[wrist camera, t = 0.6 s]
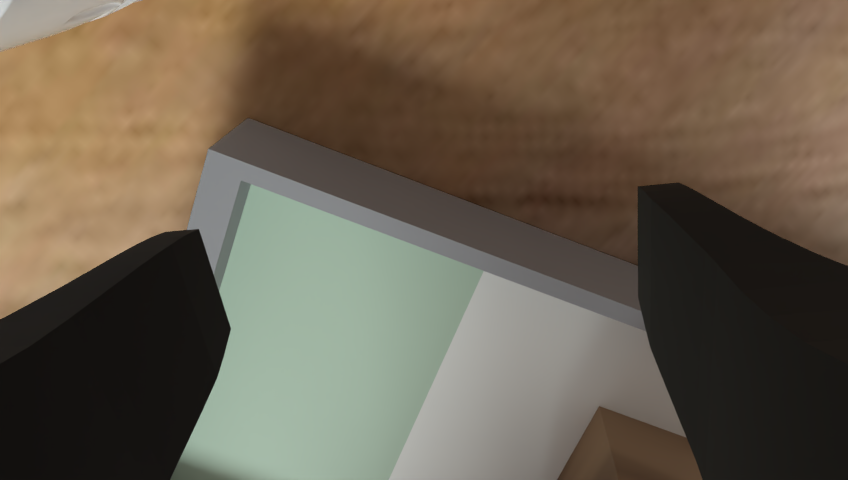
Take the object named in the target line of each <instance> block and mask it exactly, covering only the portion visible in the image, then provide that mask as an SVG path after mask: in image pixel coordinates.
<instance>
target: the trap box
mask: <svg viewBox="0 0 848 480" xmlns="http://www.w3.org/2000/svg"><path fill="white" fill-rule="evenodd" d="M193 229H199V231H200V234H201V237H202V240H203V243H204V246H205V249H206V252H207V255H208V259H209V262H210V265H211V268H212V271H213V274H214V277H215V280H216V283H217V287H218V290H219V293H220V296H221V299H222V302H223V305H224V308H225V311H226V315H227V318H228V321H229V324H230V327H231V331H230V335H229V339H228V342H227V346H226V350H225V354H224V358H223V361H222V364H221V367H220V371H219V374H218V377H217V380H216V382H215V384H214V386H213V389H212V391H211V393H210V395H209V398H208V400H207V402H206V404H205V406H204V409H203V411H202V413H201V415H200V417H199V419H198V421H197V424H196V426H195V428H194V430H193V432H192V434H191V436H190V438H189V441H188V443H187V445H186V447H185V449H184V451H183V453H182V455H181V458H180V460H179V462H178V464H177V466H176V468H175V470H174V472H173V475H172V477H171V479H170V480H557V479H558V477H559V475H560V473H561V472H562V470H563V468H564V466H565V465H566V463H567V461H568V460H569V458H570V456H571V454H572V453H573V451H574V449H575V447H576V446H577V444H578V442H579V440H580V439H581V437H582V435H583V433H584V432H585V430H586V428H587V426H588V425H589V423H590V421H591V419H592V418H593V416H594V414H595V412H596V411H597V409H598V407H599V406H600V407H603V408H606V409H609V410H612V411H614V412H617V413H620V414H623V415H625V416H628V417H631V418H634V419H636V420H639V421H642V422H645V423H647V424H650V425H653V426H656V427H659V428H661V429H664V430H667V431H670V432H672V433H675V434H678V435H681V436H683V437H686V435H685V433H684V430H683V428H682V425H681V423H680V420H679V418H678V415H677V413H676V411H675V408H674V406H673V403H672V401H671V398H670V396H669V393H668V391H667V388H666V386H665V383H664V381H663V378H662V376H661V373H660V371H659V368H658V366H657V363H656V361H655V358H654V356H653V353H652V351H651V348H650V345H649V341H648V337H647V333H646V329H645V325H644V321H643V316H642V312H641V308H640V304H639V299H638V266H637V265H634V264H631V263H629V262H626V261H623V260H621V259H618V258H616V257H613V256H610V255H608V254H605V253H602V252H600V251H597V250H594V249H592V248H589V247H587V246H584V245H581V244H579V243H576V242H573V241H571V240H568V239H566V238H563V237H560V236H558V235H555V234H552V233H550V232H547V231H545V230H542V229H539V228H537V227H534V226H531V225H529V224H526V223H523V222H521V221H518V220H516V219H513V218H510V217H508V216H505V215H502V214H500V213H497V212H495V211H492V210H489V209H487V208H484V207H481V206H479V205H476V204H473V203H471V202H468V201H466V200H463V199H460V198H458V197H455V196H452V195H450V194H447V193H445V192H442V191H439V190H437V189H434V188H431V187H429V186H426V185H424V184H421V183H418V182H416V181H413V180H410V179H408V178H405V177H402V176H400V175H397V174H395V173H392V172H389V171H387V170H384V169H381V168H379V167H376V166H374V165H371V164H368V163H366V162H363V161H360V160H358V159H355V158H352V157H350V156H347V155H345V154H342V153H339V152H337V151H334V150H331V149H329V148H326V147H324V146H321V145H318V144H316V143H313V142H310V141H308V140H305V139H303V138H300V137H297V136H295V135H292V134H289V133H287V132H284V131H281V130H279V129H276V128H274V127H271V126H268V125H266V124H263V123H260V122H258V121H255V120H253V119H250V118H247V119H246V120H244V121H243V122H242V123H241V124H239V125H238V126H237V127H235V128H234V129H233V130H232V131H230V132H229V133H228V134H227V135H225V136H224V137H223V138H222V139H220V140H219V141H218V142H216V143H215V144H214V145H213V146H211V147H210V148H209V149H208V152H207V156H206V160H205V164H204V167H203V171H202V175H201V178H200V182H199V186H198V190H197V193H196V197H195V201H194V205H193V208H192V212H191V216H190V220H189V223H188V227H187V230H193ZM686 438H687V437H686Z"/></svg>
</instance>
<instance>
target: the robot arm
mask: <svg viewBox="0 0 848 480" xmlns="http://www.w3.org/2000/svg"><path fill="white" fill-rule="evenodd" d="M638 299H639V304H640V308H641V312H642V316H643V321H644V325H645V329H646V333H647V337H648V341H649V345H650V348H651V351H652V353H653V356H654V358H655V361H656V363H657V366H658V368H659V371H660V373H661V376H662V378H663V381H664V383H665V386H666V388H667V391H668V393H669V396H670V398H671V401H672V403H673V406H674V408H675V411H676V413H677V415H678V418H679V420H680V423H681V425H682V428H683V430H684V433H685V435H686V437H687V440H688V442H689V445H690V447H691V450H692V452H693V455H694V457H695V460H696V462H697V465H698V468H699V471H700V474H701V477H702V480H848V266H847V265H844V264H841V263H838V262H836V261H833V260H831V259H828V258H826V257H823V256H821V255H818V254H816V253H814V252H811V251H809V250H807V249H805V248H803V247H801V246H798V245H796V244H794V243H792V242H790V241H788V240H785V239H783V238H781V237H779V236H777V235H775V234H773V233H771V232H769V231H767V230H765V229H763V228H761V227H759V226H758V225H756V224H754V223H752V222H750V221H748V220H746V219H744V218H743V217H741V216H739V215H737V214H735V213H734V212H732V211H730V210H728V209H726V208H725V207H723V206H721V205H719V204H718V203H716V202H714V201H712V200H711V199H709V198H707V197H705V196H704V195H702V194H700V193H698V192H696V191H695V190H693V189H691V188H689V187H687V186H685V185H683V184H680V183H670V184H660V185H650V186H639V187H638ZM230 331H231V327H230V324H229V321H228V318H227V315H226V311H225V308H224V305H223V302H222V299H221V296H220V293H219V290H218V287H217V283H216V280H215V277H214V274H213V271H212V268H211V265H210V262H209V259H208V255H207V252H206V249H205V246H204V243H203V240H202V237H201V234H200V231H199V229H193V230H183V231H172V232H164V233H162V234H159V235H156V236H154V237H151V238H149V239H147V240H145V241H143V242H141V243H139V244H137V245H135V246H133V247H131V248H129V249H127V250H126V251H124V252H122V253H120V254H118V255H117V256H115V257H113V258H111V259H110V260H108V261H106V262H104V263H102V264H101V265H99V266H97V267H96V268H94V269H92V270H90V271H89V272H87V273H85V274H83V275H82V276H80V277H78V278H76V279H75V280H73V281H71V282H69V283H68V284H66V285H64V286H62V287H60V288H59V289H57V290H55V291H53V292H51V293H49V294H47V295H46V296H44V297H42V298H40V299H38V300H36V301H34V302H32V303H31V304H29V305H27V306H25V307H23V308H21V309H19V310H18V311H16V312H14V313H12V314H10V315H8V316H6V317H4V318H2V319H0V480H170V479H171V477H172V475H173V472H174V470H175V468H176V466H177V464H178V462H179V460H180V458H181V455H182V453H183V451H184V449H185V447H186V445H187V443H188V441H189V438H190V436H191V434H192V432H193V430H194V428H195V426H196V424H197V421H198V419H199V417H200V415H201V413H202V411H203V409H204V406H205V404H206V402H207V400H208V398H209V395H210V393H211V391H212V389H213V386H214V384H215V382H216V380H217V377H218V374H219V371H220V367H221V364H222V361H223V358H224V354H225V350H226V346H227V342H228V339H229V335H230Z"/></svg>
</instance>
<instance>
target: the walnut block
mask: <svg viewBox="0 0 848 480" xmlns="http://www.w3.org/2000/svg"><path fill="white" fill-rule="evenodd" d="M557 480H702V477H701V474H700V471H699V468H698V465H697V462H696V460H695V457H694V455H693V452H692V450H691V447H690V445H689V442H688V440H687V438H686V437H683V436H681V435H678V434H675V433H672V432H670V431H667V430H664V429H661V428H659V427H656V426H653V425H650V424H647V423H645V422H642V421H639V420H636V419H634V418H631V417H628V416H625V415H623V414H620V413H617V412H614V411H612V410H609V409H606V408H603V407H600V406H599V407H598V409H597V411H596V412H595V414H594V416H593V418H592V419H591V421H590V423H589V425H588V426H587V428H586V430H585V432H584V433H583V435H582V437H581V439H580V440H579V442H578V444H577V446H576V447H575V449H574V451H573V453H572V454H571V456H570V458H569V460H568V461H567V463H566V465H565V466H564V468H563V470H562V472H561V473H560V475H559V477H558V479H557Z"/></svg>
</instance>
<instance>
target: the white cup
mask: <svg viewBox="0 0 848 480" xmlns="http://www.w3.org/2000/svg"><path fill="white" fill-rule="evenodd" d="M138 1H142V0H0V52H2V51H5V50H8V49H12V48H15V47H18V46H21V45H24V44H28V43H31V42H34V41H37V40H40V39H44V38H47V37H50V36H53V35H56V34H58V33H61V32H64V31H67V30H69V29H72V28H75V27H77V26H80V25H82V24H84V23H87V22H90V21H93V20H96V19H99V18H102V17H105V16H107V15H109V14H111V13H114V12H116V11H118V10H120V9H122V8H124V7H126V6H128V5H130V4H131V3H134V2H138Z"/></svg>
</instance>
